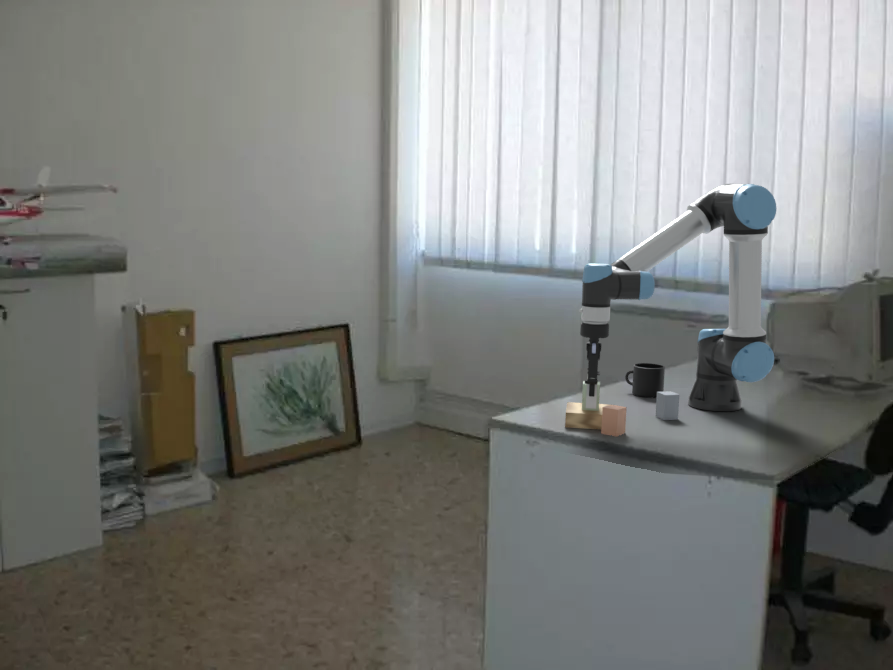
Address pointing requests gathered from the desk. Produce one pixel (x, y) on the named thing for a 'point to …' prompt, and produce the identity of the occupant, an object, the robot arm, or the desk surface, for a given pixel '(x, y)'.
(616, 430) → the terracotta brick
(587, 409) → the sage brick
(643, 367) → the mug
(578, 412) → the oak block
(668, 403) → the slate brick
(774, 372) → the desk surface
